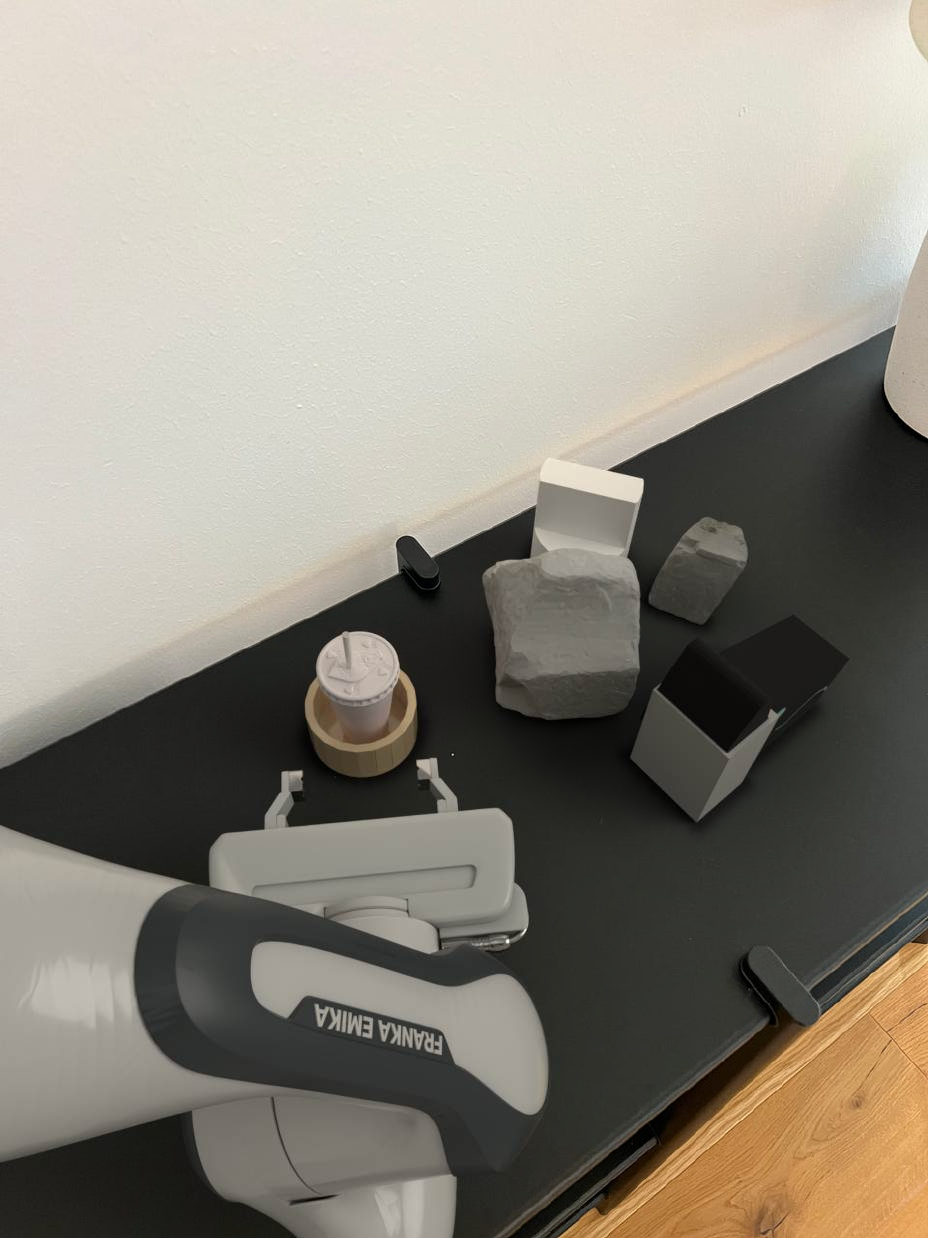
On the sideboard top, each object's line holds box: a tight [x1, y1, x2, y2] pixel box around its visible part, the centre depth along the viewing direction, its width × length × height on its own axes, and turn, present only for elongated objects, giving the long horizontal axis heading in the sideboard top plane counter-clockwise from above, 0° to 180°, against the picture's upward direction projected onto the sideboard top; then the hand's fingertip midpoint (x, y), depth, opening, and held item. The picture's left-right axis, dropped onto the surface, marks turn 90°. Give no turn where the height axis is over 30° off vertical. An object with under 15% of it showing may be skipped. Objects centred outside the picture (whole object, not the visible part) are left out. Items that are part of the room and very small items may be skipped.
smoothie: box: [315, 631, 401, 745], centre depth 75 cm, size 6×6×14 cm
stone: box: [481, 548, 641, 721], centre depth 79 cm, size 12×12×15 cm
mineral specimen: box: [648, 516, 749, 625], centre depth 87 cm, size 7×9×8 cm
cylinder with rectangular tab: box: [529, 457, 645, 559], centre depth 87 cm, size 9×9×12 cm
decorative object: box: [629, 614, 850, 823], centre depth 76 cm, size 8×18×15 cm, turn 130°
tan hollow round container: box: [304, 668, 418, 778], centre depth 79 cm, size 9×9×4 cm
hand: (360, 767), depth 68 cm, fingers open, 8 cm apart
